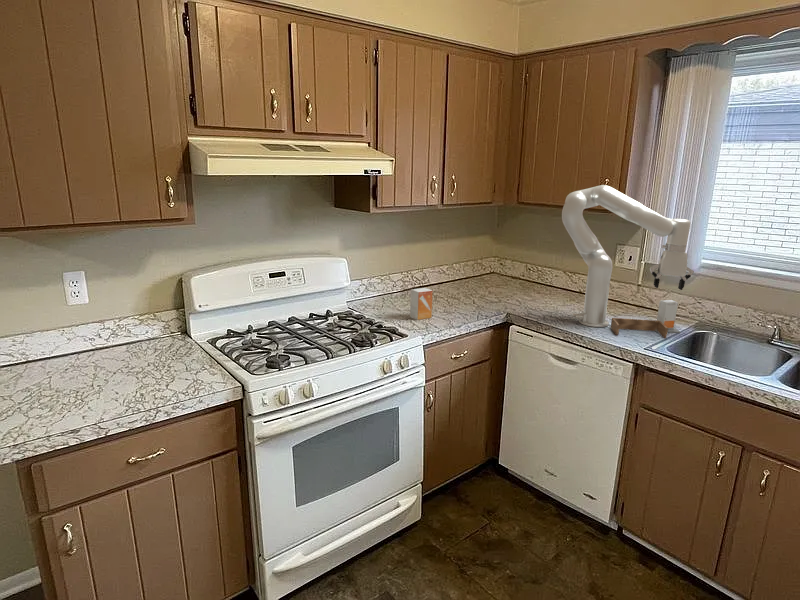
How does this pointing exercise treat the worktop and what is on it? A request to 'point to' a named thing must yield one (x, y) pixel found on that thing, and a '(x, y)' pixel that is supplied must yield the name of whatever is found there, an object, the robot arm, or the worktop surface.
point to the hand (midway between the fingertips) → (668, 288)
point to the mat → (671, 330)
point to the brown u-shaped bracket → (638, 325)
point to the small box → (421, 303)
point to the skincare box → (667, 313)
